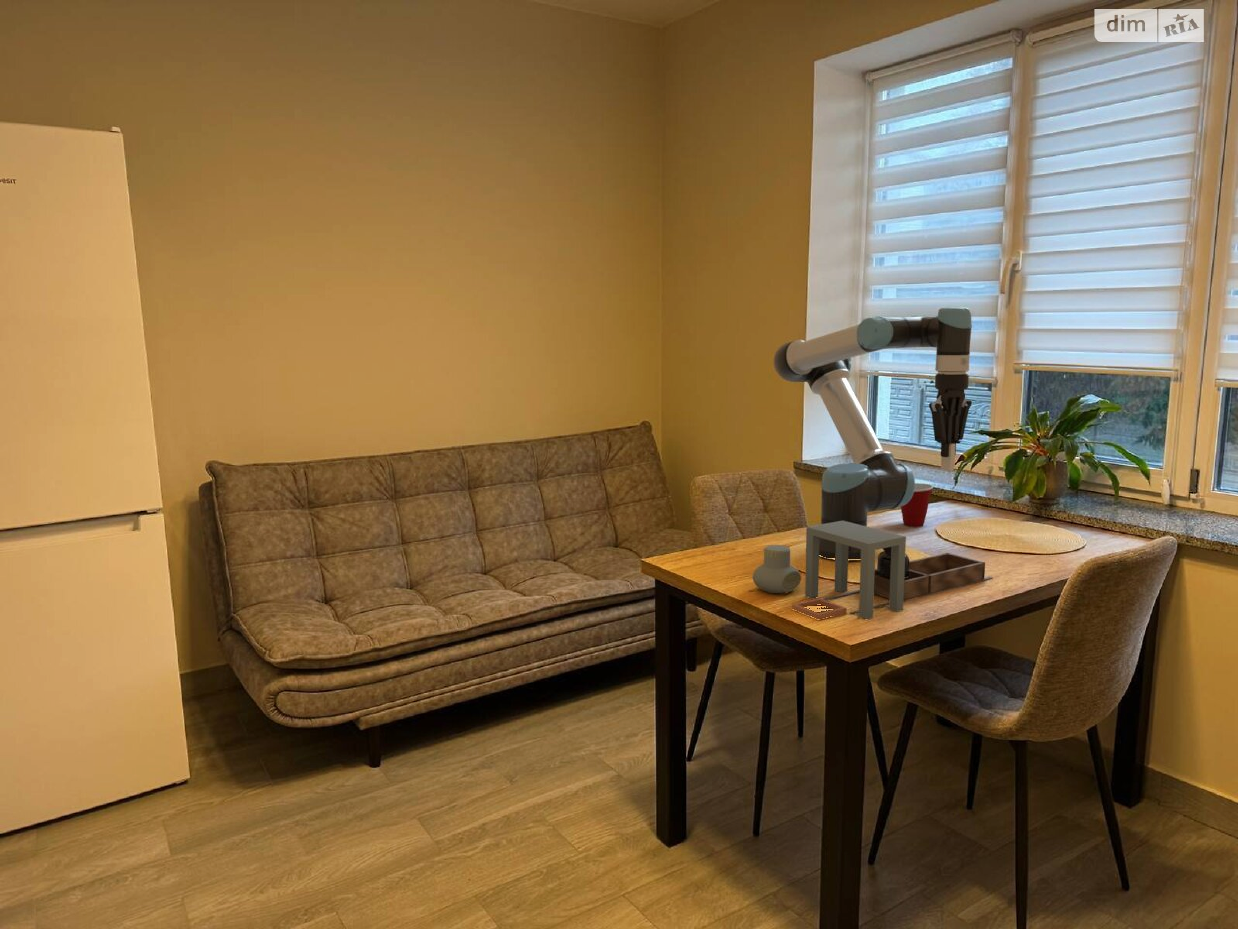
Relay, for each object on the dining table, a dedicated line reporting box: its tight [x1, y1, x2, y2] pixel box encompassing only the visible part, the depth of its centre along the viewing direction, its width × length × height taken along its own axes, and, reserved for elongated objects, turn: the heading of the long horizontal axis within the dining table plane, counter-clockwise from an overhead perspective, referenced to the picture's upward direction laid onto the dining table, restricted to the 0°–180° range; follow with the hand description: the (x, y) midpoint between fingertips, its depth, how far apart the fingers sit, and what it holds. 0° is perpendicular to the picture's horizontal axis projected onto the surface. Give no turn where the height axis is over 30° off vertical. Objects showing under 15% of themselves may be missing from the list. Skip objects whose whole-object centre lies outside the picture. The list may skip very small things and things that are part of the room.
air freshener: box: [752, 544, 802, 594], centre depth 198 cm, size 11×8×10 cm
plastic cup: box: [900, 482, 934, 528], centre depth 258 cm, size 11×11×12 cm
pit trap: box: [791, 597, 848, 620], centre depth 184 cm, size 8×8×1 cm
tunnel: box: [804, 521, 994, 620], centre depth 197 cm, size 46×18×16 cm, turn 121°
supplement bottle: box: [876, 547, 910, 581], centre depth 194 cm, size 7×7×12 cm
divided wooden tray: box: [874, 552, 986, 600], centre depth 200 cm, size 29×11×4 cm, turn 121°
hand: (947, 469), depth 212 cm, fingers closed
